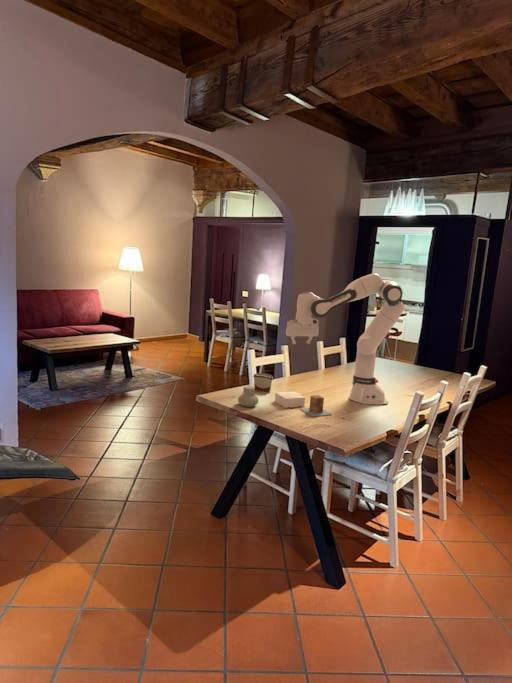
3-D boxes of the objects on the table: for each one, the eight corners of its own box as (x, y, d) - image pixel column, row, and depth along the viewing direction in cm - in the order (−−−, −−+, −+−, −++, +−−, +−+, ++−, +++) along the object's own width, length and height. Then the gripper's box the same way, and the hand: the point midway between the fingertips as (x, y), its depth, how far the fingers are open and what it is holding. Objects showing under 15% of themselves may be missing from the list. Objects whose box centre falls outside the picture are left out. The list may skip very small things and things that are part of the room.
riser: (293, 399, 264) (294, 391, 264) (304, 406, 254) (305, 397, 253) (274, 401, 259) (275, 392, 259) (285, 407, 249) (285, 398, 248)
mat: (319, 408, 253) (319, 407, 252) (331, 415, 242) (331, 414, 242) (300, 409, 247) (300, 408, 247) (311, 416, 237) (311, 415, 237)
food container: (274, 391, 280) (276, 374, 279) (271, 393, 275) (273, 377, 273) (255, 387, 284) (256, 372, 283) (252, 390, 278) (253, 374, 277)
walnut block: (317, 409, 248) (318, 395, 247) (322, 412, 243) (323, 397, 242) (309, 410, 246) (310, 395, 244) (314, 413, 241) (315, 398, 240)
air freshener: (235, 403, 250) (236, 385, 249) (248, 401, 255) (249, 384, 254) (247, 409, 242) (249, 390, 240) (260, 407, 247) (261, 389, 245)
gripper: (290, 320, 258) (288, 345, 261) (321, 321, 267) (318, 344, 269) (284, 319, 264) (282, 343, 266) (315, 319, 273) (313, 342, 275)
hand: (301, 343), depth 268 cm, fingers open, 8 cm apart
